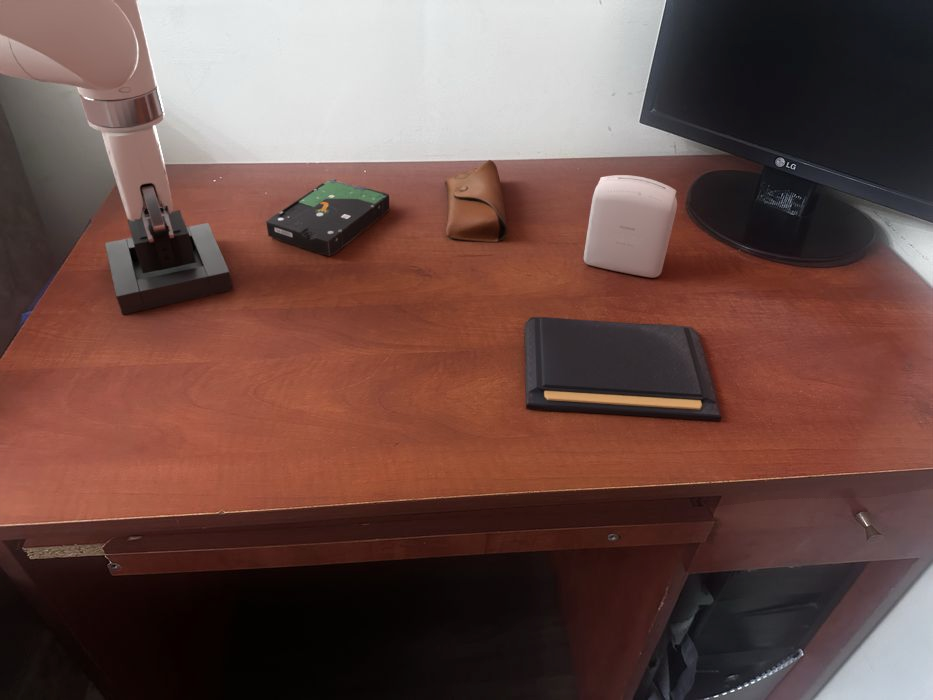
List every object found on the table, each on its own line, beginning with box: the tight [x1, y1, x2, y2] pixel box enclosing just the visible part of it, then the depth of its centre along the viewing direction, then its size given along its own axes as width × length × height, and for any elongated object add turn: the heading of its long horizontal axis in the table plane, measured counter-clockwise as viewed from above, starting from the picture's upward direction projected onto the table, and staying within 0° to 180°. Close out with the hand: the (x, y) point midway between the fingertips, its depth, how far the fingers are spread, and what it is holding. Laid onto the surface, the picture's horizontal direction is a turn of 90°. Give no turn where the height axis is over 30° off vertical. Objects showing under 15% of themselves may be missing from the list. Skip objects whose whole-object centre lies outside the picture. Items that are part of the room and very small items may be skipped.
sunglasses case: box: [444, 159, 508, 243], centre depth 102 cm, size 18×7×7 cm, turn 3°
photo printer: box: [583, 174, 678, 279], centre depth 88 cm, size 10×4×12 cm, turn 70°
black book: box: [523, 316, 723, 422], centre depth 76 cm, size 20×2×15 cm
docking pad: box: [104, 222, 234, 316], centre depth 86 cm, size 12×12×3 cm
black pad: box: [126, 210, 196, 274], centre depth 84 cm, size 6×6×4 cm
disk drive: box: [265, 178, 390, 257], centre depth 97 cm, size 10×3×15 cm
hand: (164, 251), depth 85 cm, fingers closed on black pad, 6 cm apart
